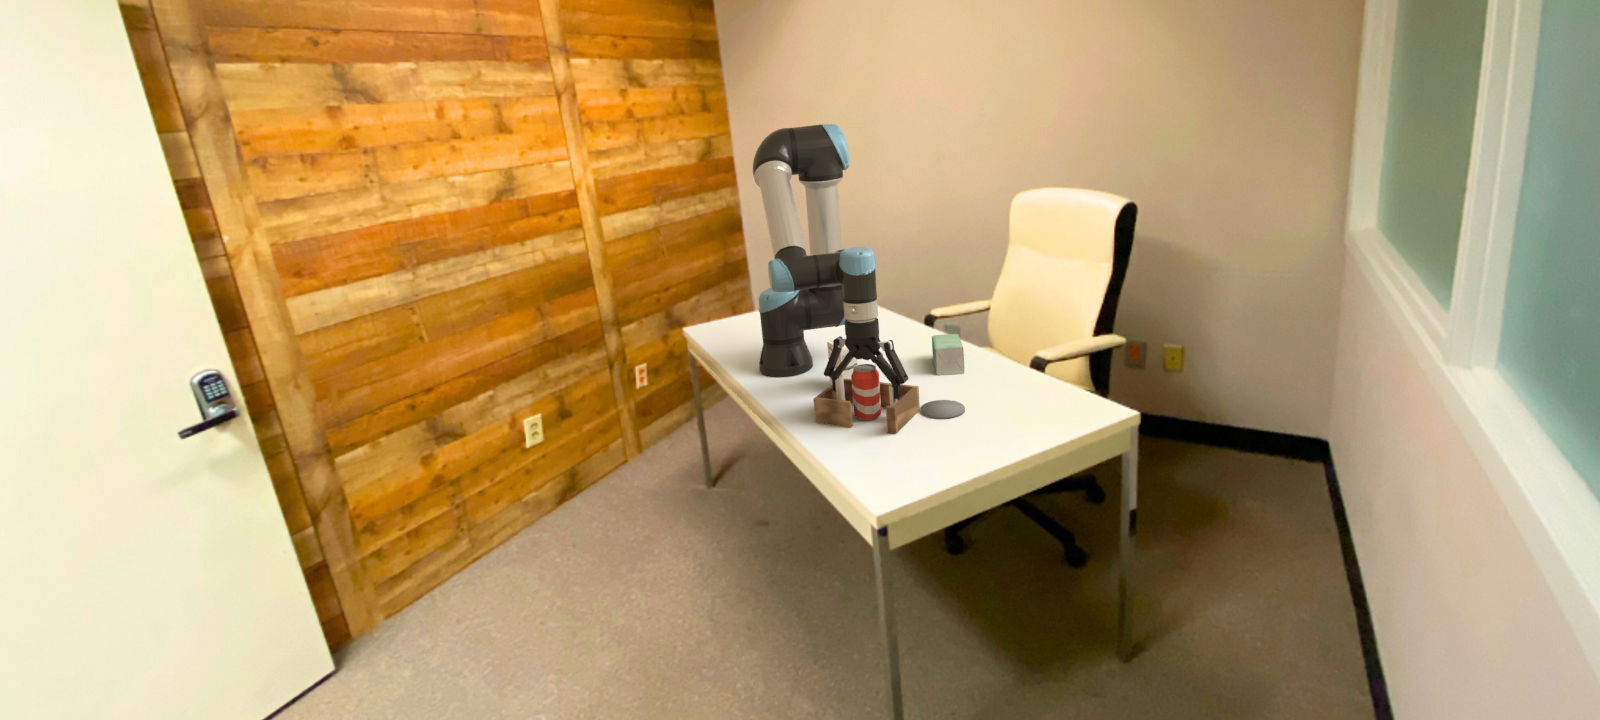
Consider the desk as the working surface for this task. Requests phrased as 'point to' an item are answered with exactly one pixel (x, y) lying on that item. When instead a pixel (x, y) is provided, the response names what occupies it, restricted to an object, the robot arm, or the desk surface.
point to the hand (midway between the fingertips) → (867, 408)
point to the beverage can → (866, 392)
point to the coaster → (942, 409)
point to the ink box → (849, 369)
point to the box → (948, 354)
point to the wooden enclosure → (897, 415)
